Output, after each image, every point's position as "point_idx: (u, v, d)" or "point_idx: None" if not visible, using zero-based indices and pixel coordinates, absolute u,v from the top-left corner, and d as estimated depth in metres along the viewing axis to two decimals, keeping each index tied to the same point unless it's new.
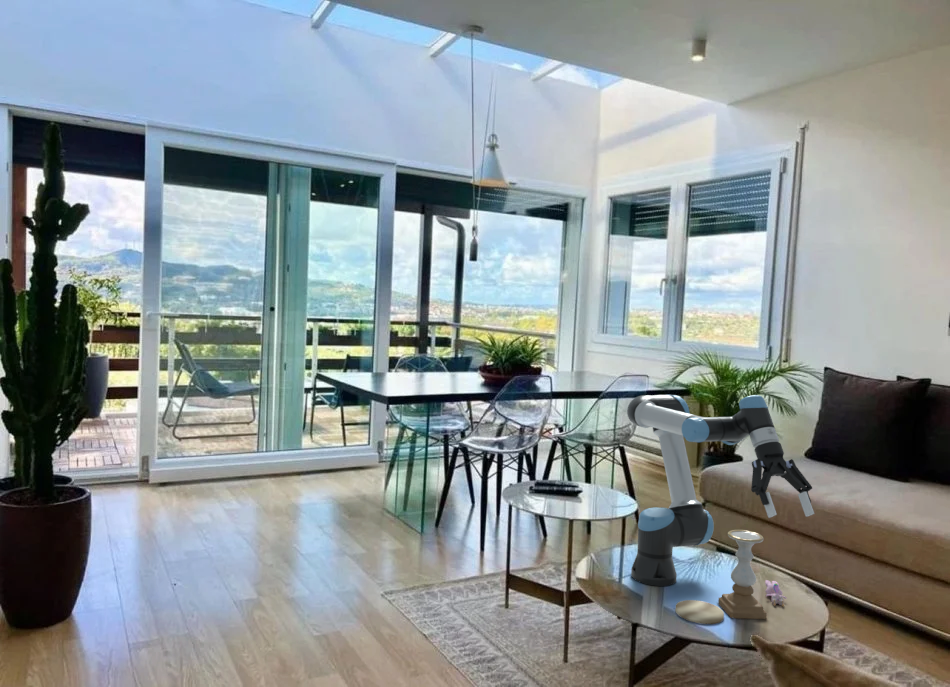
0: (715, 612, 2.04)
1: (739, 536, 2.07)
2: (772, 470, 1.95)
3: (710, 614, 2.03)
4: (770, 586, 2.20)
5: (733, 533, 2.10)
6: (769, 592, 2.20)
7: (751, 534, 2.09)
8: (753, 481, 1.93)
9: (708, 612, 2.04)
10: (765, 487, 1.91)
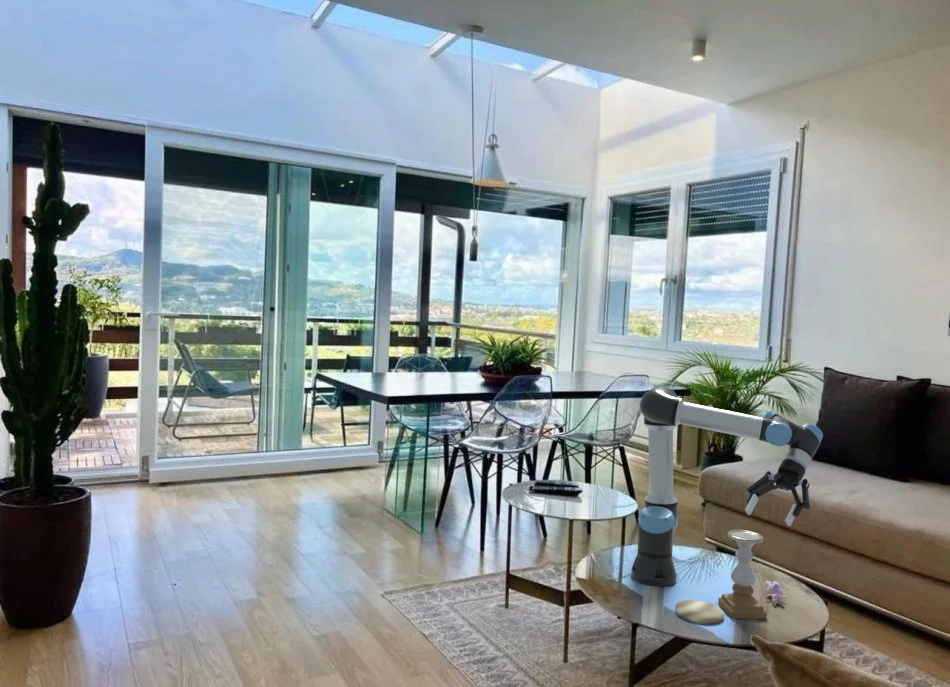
0: (715, 612, 2.04)
1: (739, 536, 2.07)
2: None
3: (710, 614, 2.03)
4: (770, 586, 2.20)
5: (733, 533, 2.10)
6: (769, 592, 2.19)
7: (751, 534, 2.09)
8: (807, 497, 2.10)
9: (708, 612, 2.04)
10: None
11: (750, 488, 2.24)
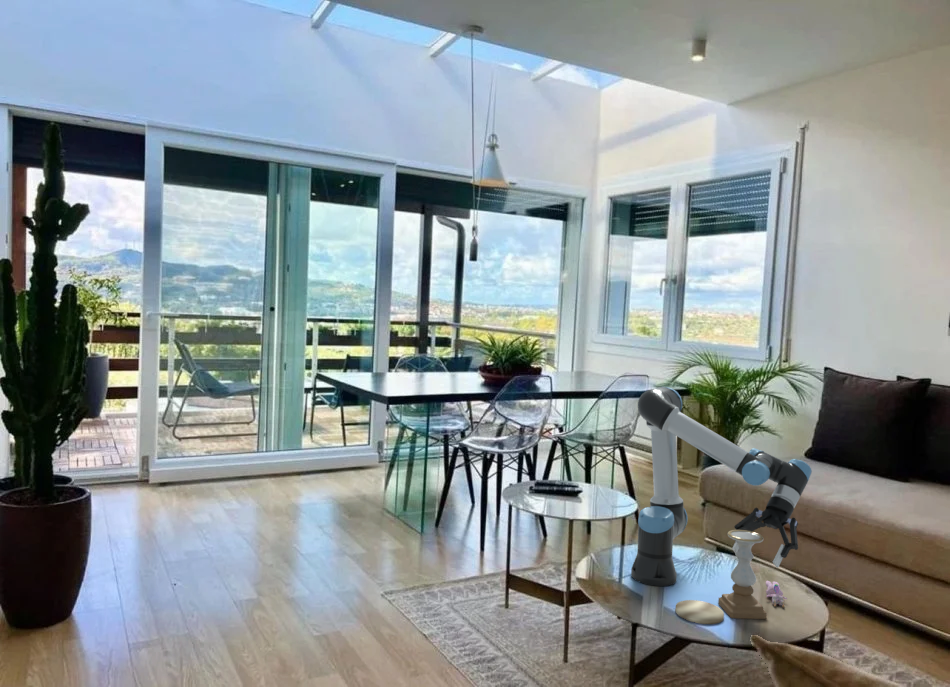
0: (715, 612, 2.04)
1: (739, 536, 2.07)
2: None
3: (710, 614, 2.03)
4: (770, 587, 2.20)
5: (733, 533, 2.10)
6: (769, 593, 2.19)
7: (751, 534, 2.09)
8: (795, 538, 2.05)
9: (708, 612, 2.04)
10: None
11: (737, 525, 2.19)
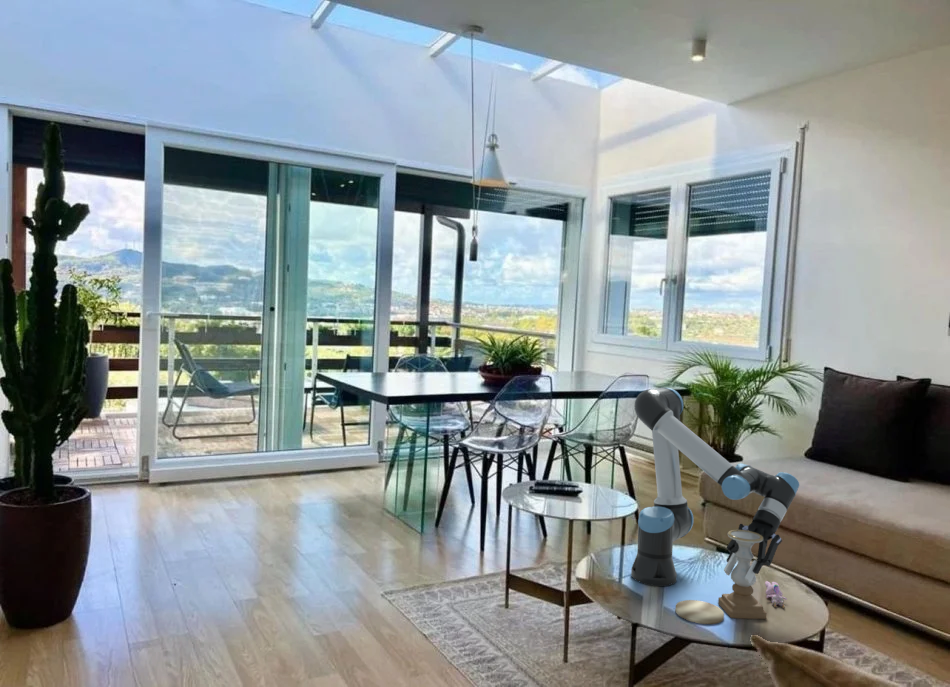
0: (715, 612, 2.04)
1: (739, 536, 2.07)
2: None
3: (710, 614, 2.03)
4: (770, 587, 2.19)
5: (733, 533, 2.10)
6: (769, 593, 2.19)
7: (751, 534, 2.09)
8: (771, 554, 2.04)
9: (708, 612, 2.04)
10: None
11: (729, 545, 2.14)
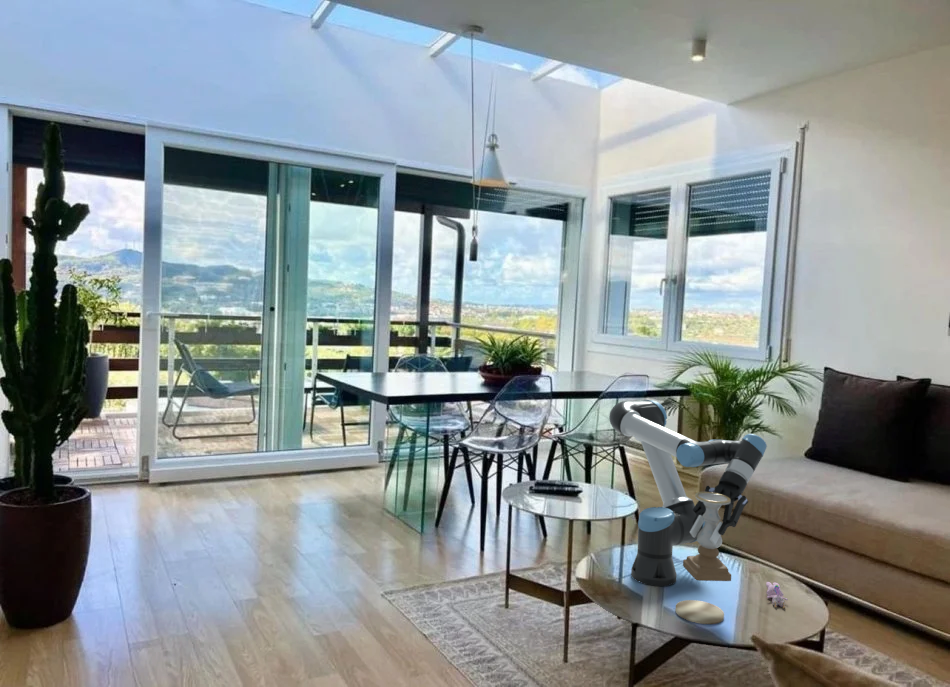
0: (715, 612, 2.04)
1: (706, 498, 2.03)
2: None
3: (710, 614, 2.03)
4: (771, 588, 2.19)
5: (700, 495, 2.06)
6: (770, 594, 2.18)
7: (718, 496, 2.05)
8: (736, 515, 2.01)
9: (708, 612, 2.04)
10: None
11: (696, 508, 2.10)
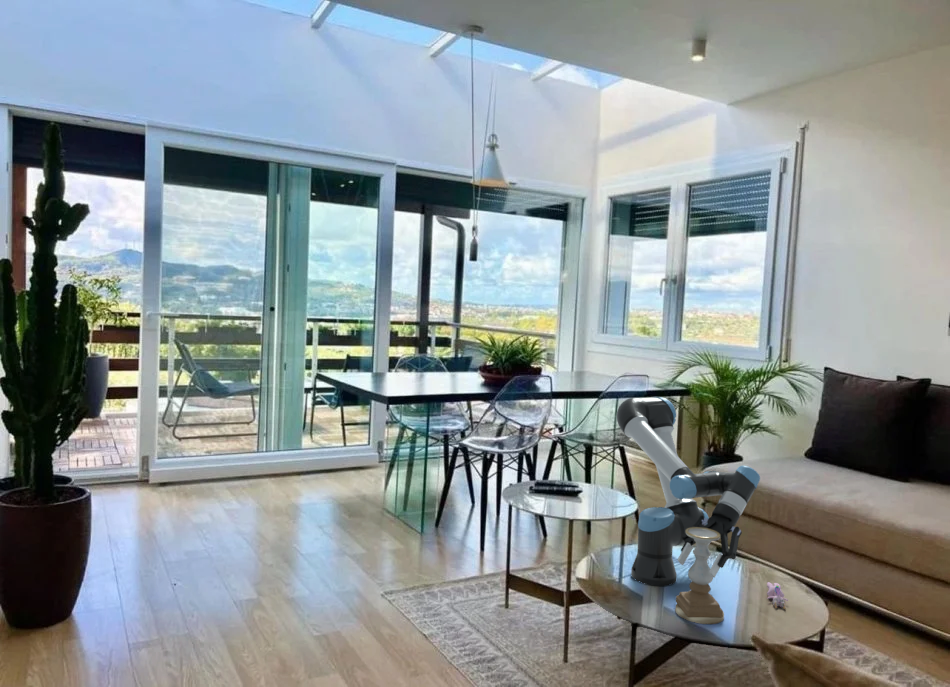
0: None
1: (696, 534, 2.04)
2: None
3: None
4: (772, 588, 2.18)
5: (690, 530, 2.07)
6: (771, 594, 2.18)
7: (709, 531, 2.07)
8: (734, 547, 2.01)
9: None
10: None
11: (684, 535, 2.13)
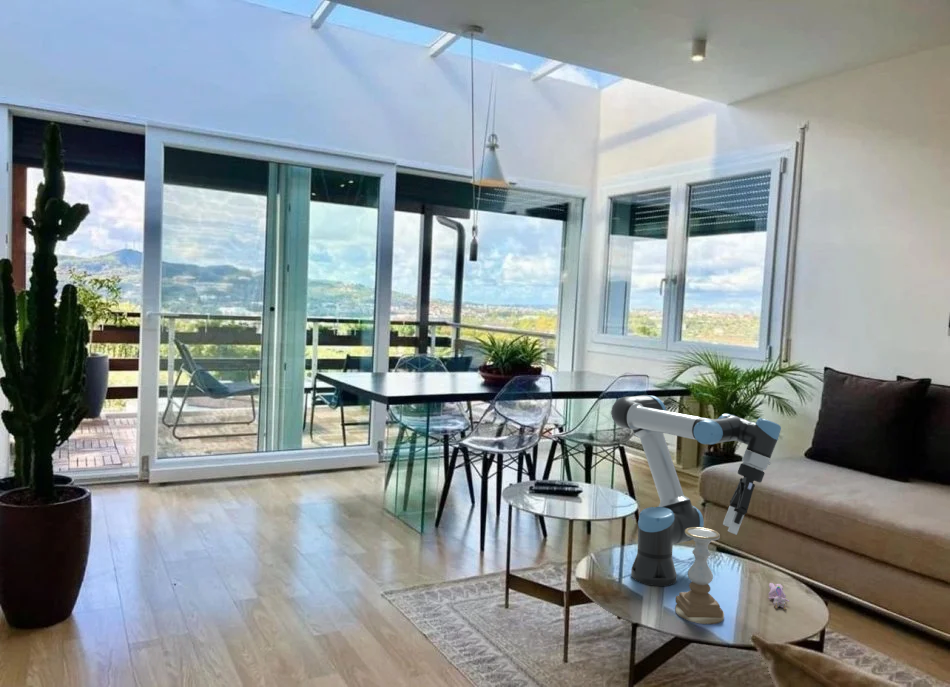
0: None
1: (696, 533, 2.04)
2: None
3: None
4: (773, 589, 2.18)
5: (690, 530, 2.07)
6: (772, 595, 2.17)
7: (708, 531, 2.07)
8: (743, 502, 2.06)
9: None
10: None
11: (731, 500, 2.23)
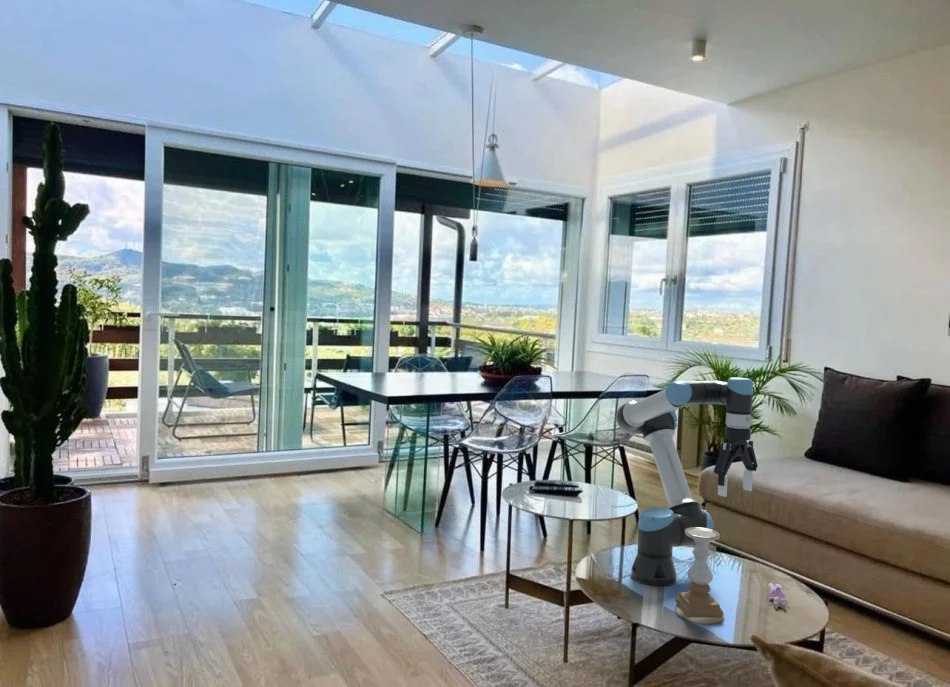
0: None
1: (696, 533, 2.04)
2: (736, 455, 2.11)
3: None
4: (773, 589, 2.18)
5: (690, 530, 2.07)
6: (772, 595, 2.17)
7: (708, 531, 2.07)
8: (718, 463, 2.10)
9: None
10: (726, 471, 2.10)
11: None
